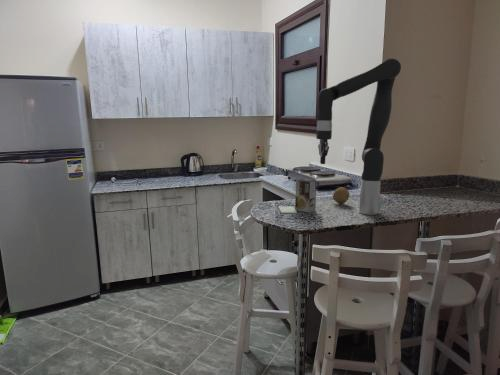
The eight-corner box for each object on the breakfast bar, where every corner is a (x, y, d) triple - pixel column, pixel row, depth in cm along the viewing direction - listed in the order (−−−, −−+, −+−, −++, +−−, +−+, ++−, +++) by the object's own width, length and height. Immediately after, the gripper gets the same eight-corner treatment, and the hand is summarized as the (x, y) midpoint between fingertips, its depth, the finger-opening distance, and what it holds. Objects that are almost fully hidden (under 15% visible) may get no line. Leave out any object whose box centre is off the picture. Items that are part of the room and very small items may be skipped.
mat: (293, 207, 193) (293, 206, 193) (297, 213, 181) (297, 212, 181) (278, 207, 193) (278, 206, 193) (281, 213, 181) (281, 212, 181)
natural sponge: (349, 206, 195) (350, 189, 193) (332, 206, 197) (333, 188, 195) (348, 203, 204) (349, 186, 202) (332, 202, 206) (333, 185, 204)
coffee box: (315, 210, 187) (317, 180, 184) (309, 213, 182) (310, 181, 179) (301, 207, 193) (302, 178, 190) (294, 209, 188) (295, 179, 185)
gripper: (335, 130, 174) (333, 165, 177) (328, 129, 187) (326, 162, 190) (320, 130, 173) (318, 165, 177) (313, 129, 186) (312, 162, 190)
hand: (322, 163), depth 183 cm, fingers closed
